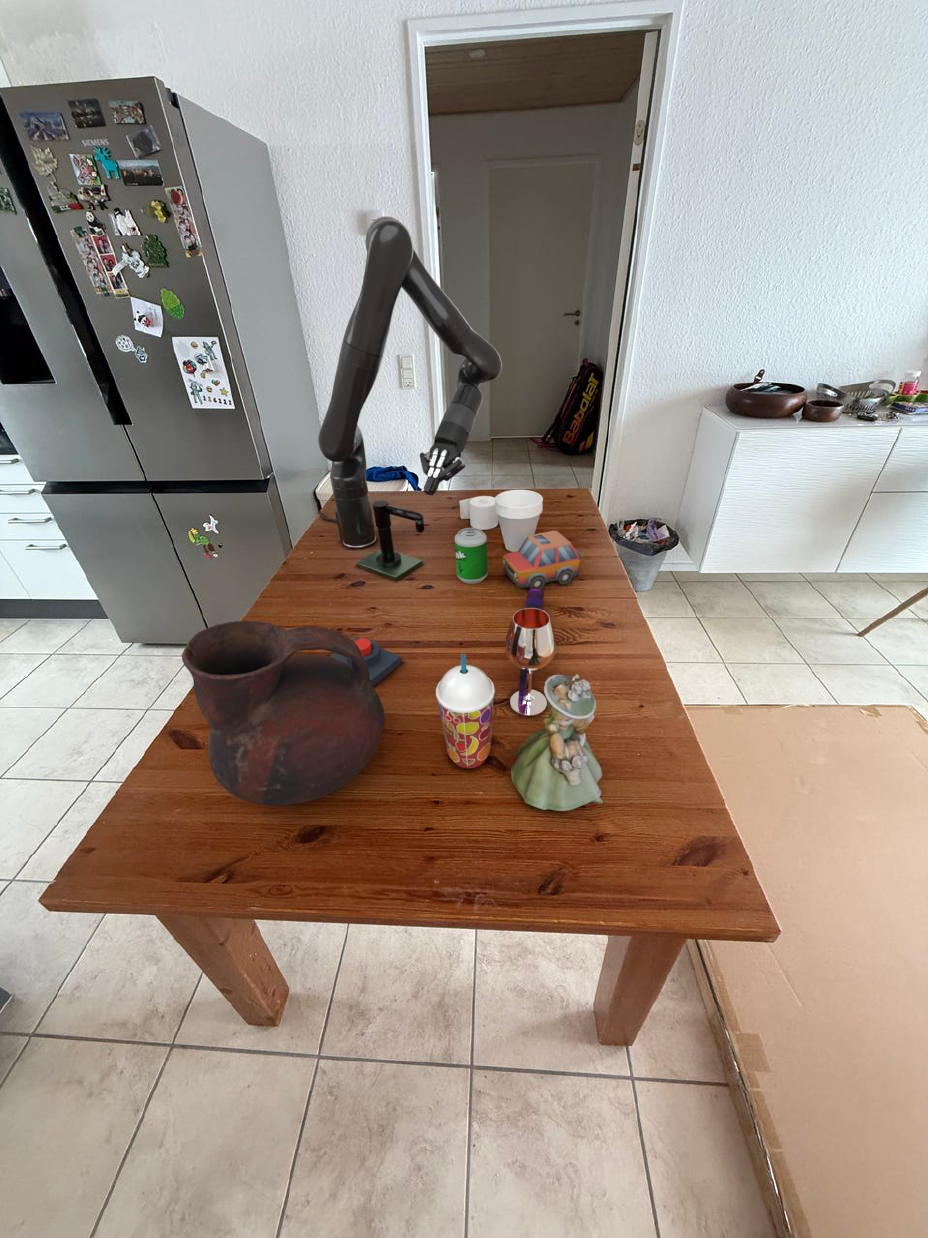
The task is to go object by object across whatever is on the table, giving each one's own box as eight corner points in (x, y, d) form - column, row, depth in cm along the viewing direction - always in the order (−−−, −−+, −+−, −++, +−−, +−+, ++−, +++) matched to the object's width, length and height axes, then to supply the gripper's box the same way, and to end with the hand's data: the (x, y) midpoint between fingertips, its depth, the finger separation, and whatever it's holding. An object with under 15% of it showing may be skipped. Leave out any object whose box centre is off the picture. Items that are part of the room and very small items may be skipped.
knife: (527, 602, 115) (527, 583, 112) (543, 603, 114) (544, 584, 111) (507, 720, 85) (507, 697, 82) (529, 722, 84) (530, 700, 81)
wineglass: (556, 691, 91) (562, 607, 80) (547, 724, 84) (552, 637, 74) (511, 683, 93) (512, 600, 83) (499, 714, 87) (498, 629, 77)
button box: (328, 664, 100) (325, 650, 98) (358, 643, 105) (355, 629, 103) (372, 686, 94) (369, 672, 92) (401, 663, 99) (399, 649, 97)
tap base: (356, 566, 132) (349, 527, 126) (383, 551, 139) (377, 513, 132) (396, 581, 125) (391, 540, 119) (422, 564, 132) (418, 525, 125)
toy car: (499, 573, 126) (499, 536, 120) (560, 559, 130) (562, 523, 124) (519, 596, 117) (519, 557, 111) (583, 580, 121) (587, 542, 115)
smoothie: (441, 736, 83) (431, 639, 72) (492, 731, 84) (489, 634, 72) (444, 778, 77) (433, 679, 65) (499, 773, 77) (498, 673, 65)
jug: (394, 817, 72) (367, 684, 57) (209, 849, 69) (131, 719, 55) (387, 695, 92) (365, 576, 78) (243, 717, 89) (193, 597, 75)
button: (349, 653, 98) (347, 646, 97) (362, 643, 100) (361, 636, 99) (362, 659, 96) (360, 652, 95) (375, 649, 98) (374, 642, 97)
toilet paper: (460, 518, 154) (459, 496, 150) (498, 517, 153) (497, 495, 149) (459, 530, 147) (458, 507, 143) (498, 529, 147) (498, 506, 143)
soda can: (488, 570, 127) (487, 526, 121) (486, 586, 121) (485, 540, 114) (458, 570, 128) (456, 526, 121) (455, 585, 122) (452, 540, 115)
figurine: (571, 852, 66) (585, 749, 55) (486, 794, 74) (482, 693, 62) (622, 779, 75) (644, 677, 63) (542, 734, 83) (547, 636, 71)
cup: (548, 542, 139) (551, 493, 131) (528, 561, 130) (529, 511, 122) (508, 533, 144) (508, 486, 136) (486, 551, 136) (485, 502, 128)
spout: (372, 526, 125) (369, 504, 122) (383, 520, 128) (380, 499, 124) (419, 540, 118) (416, 517, 115) (429, 534, 120) (427, 511, 117)
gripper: (426, 416, 123) (398, 481, 122) (471, 422, 116) (442, 491, 115) (441, 433, 129) (415, 495, 128) (484, 439, 122) (457, 505, 122)
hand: (428, 493), depth 122 cm, fingers closed
